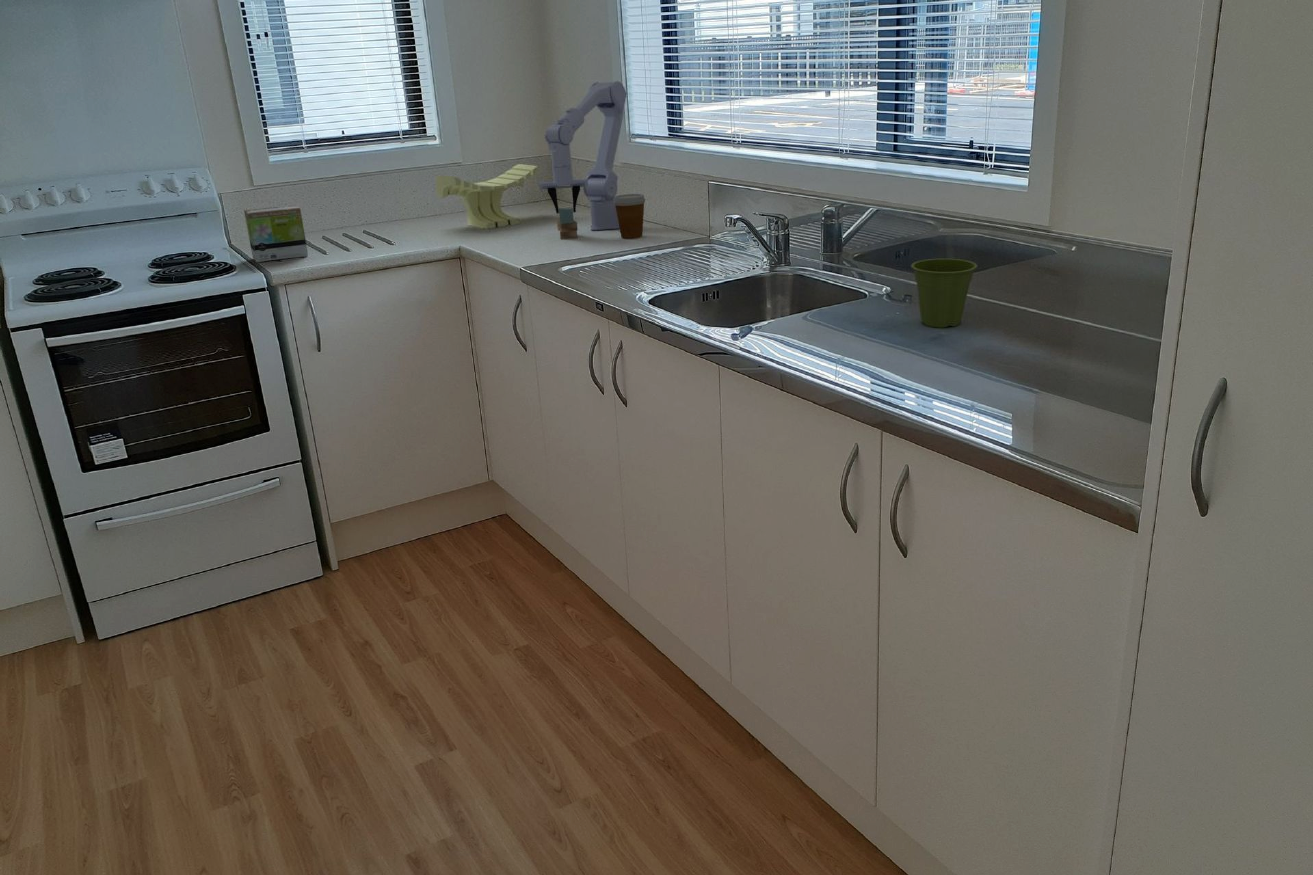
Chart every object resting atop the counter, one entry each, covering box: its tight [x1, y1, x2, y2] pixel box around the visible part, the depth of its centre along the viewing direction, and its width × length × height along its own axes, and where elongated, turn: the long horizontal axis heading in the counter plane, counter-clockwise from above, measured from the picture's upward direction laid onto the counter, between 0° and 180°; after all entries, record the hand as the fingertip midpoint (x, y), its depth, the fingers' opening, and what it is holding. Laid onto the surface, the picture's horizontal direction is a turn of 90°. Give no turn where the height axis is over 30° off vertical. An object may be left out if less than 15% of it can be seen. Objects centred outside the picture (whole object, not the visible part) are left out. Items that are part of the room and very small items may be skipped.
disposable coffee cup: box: [613, 193, 646, 240], centre depth 300 cm, size 10×10×12 cm
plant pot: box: [910, 258, 978, 329], centre depth 190 cm, size 12×12×11 cm
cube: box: [558, 206, 575, 224], centre depth 306 cm, size 4×4×4 cm
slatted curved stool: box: [435, 163, 539, 230], centre depth 340 cm, size 30×16×18 cm, turn 125°
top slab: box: [556, 220, 579, 233], centre depth 307 cm, size 5×5×2 cm
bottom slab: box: [559, 230, 578, 240], centre depth 308 cm, size 5×5×2 cm
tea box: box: [244, 204, 309, 263], centre depth 304 cm, size 15×10×15 cm
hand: (566, 212), depth 306 cm, fingers open, 4 cm apart
